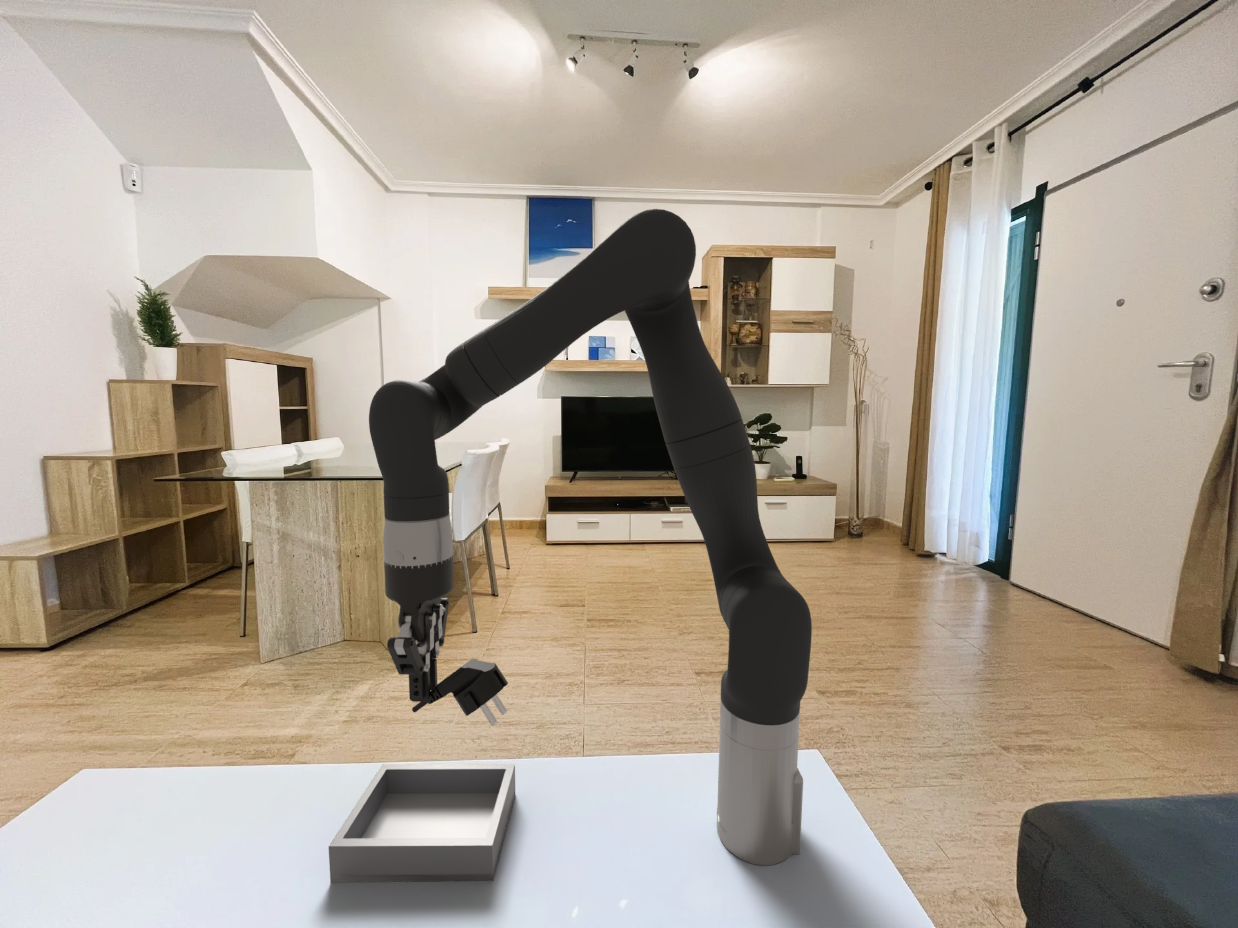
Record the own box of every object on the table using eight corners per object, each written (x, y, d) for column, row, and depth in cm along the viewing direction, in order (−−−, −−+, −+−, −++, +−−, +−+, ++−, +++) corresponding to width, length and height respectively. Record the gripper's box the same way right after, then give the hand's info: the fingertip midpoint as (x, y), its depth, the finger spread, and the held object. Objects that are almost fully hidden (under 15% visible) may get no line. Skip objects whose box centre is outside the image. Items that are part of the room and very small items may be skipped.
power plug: (424, 693, 64) (493, 642, 62) (456, 745, 63) (528, 695, 61) (395, 715, 58) (470, 660, 56) (430, 772, 57) (507, 718, 55)
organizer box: (515, 794, 69) (514, 763, 69) (493, 882, 56) (492, 845, 56) (383, 794, 69) (382, 763, 68) (330, 883, 56) (328, 846, 55)
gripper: (430, 572, 52) (435, 729, 54) (468, 539, 66) (471, 665, 67) (357, 572, 52) (364, 730, 54) (410, 538, 66) (415, 665, 67)
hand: (424, 693), depth 61 cm, fingers closed on power plug, 2 cm apart
